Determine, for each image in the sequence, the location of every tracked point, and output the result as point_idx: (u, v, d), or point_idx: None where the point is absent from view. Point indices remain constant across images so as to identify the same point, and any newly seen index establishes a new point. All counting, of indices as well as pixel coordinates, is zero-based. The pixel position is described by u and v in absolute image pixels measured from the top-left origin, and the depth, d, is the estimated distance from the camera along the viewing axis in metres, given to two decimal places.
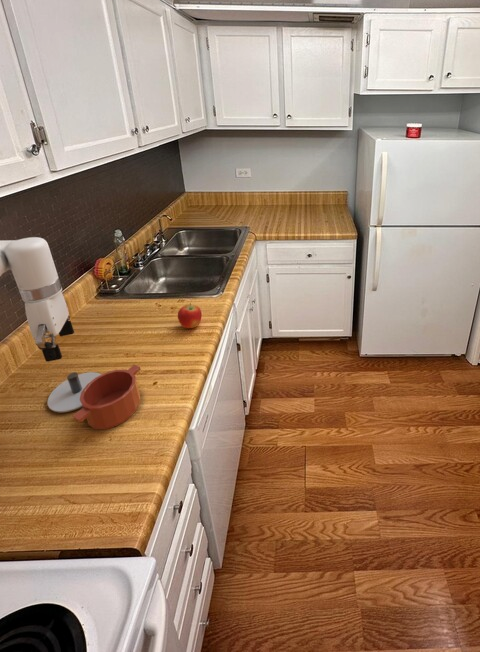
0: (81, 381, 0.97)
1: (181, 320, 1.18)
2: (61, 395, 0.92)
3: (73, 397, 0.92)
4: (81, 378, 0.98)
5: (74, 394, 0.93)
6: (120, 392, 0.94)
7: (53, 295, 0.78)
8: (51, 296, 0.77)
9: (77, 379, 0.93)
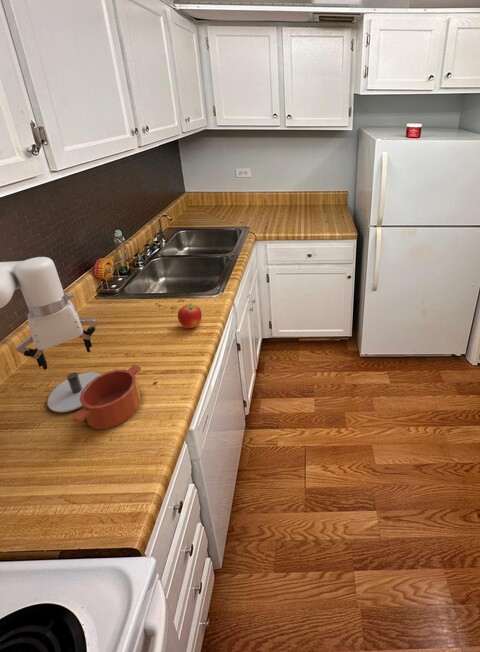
0: (81, 381, 0.97)
1: (181, 320, 1.18)
2: (61, 395, 0.92)
3: (73, 397, 0.92)
4: (81, 378, 0.98)
5: (74, 394, 0.93)
6: (120, 392, 0.94)
7: (38, 317, 0.81)
8: (36, 317, 0.81)
9: (77, 379, 0.93)
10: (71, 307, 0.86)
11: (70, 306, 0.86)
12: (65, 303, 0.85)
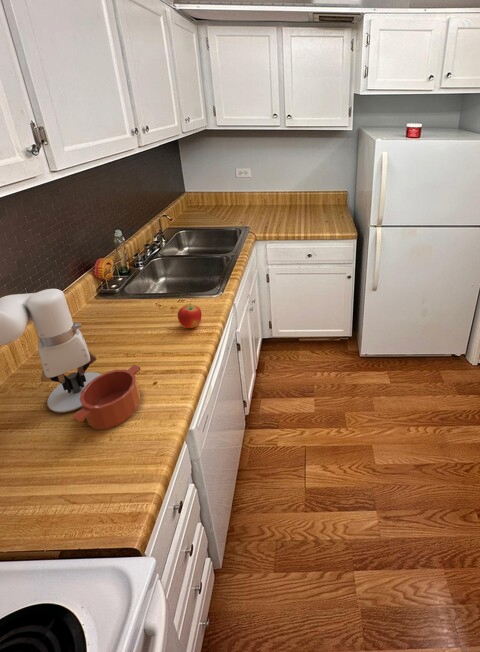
0: None
1: (181, 320, 1.18)
2: (61, 395, 0.92)
3: (73, 397, 0.92)
4: None
5: (74, 394, 0.93)
6: (120, 392, 0.94)
7: (48, 347, 0.84)
8: (46, 347, 0.84)
9: (77, 379, 0.93)
10: (79, 336, 0.89)
11: (79, 335, 0.89)
12: (74, 332, 0.88)
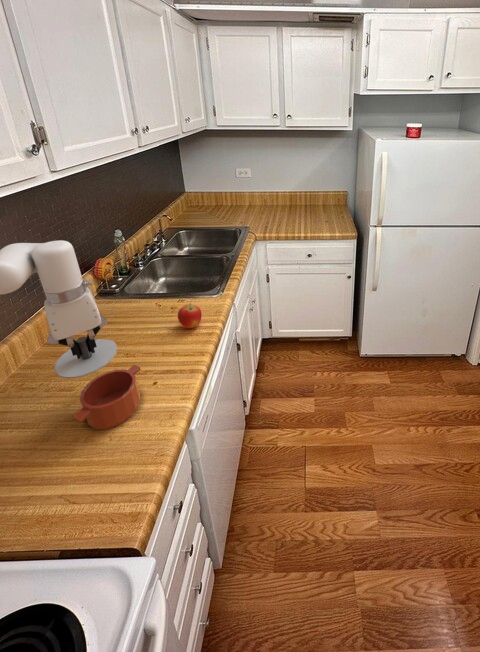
0: None
1: (181, 320, 1.18)
2: (69, 361, 0.84)
3: (83, 363, 0.84)
4: None
5: (84, 360, 0.85)
6: (120, 392, 0.94)
7: (56, 304, 0.76)
8: (54, 304, 0.76)
9: (87, 344, 0.84)
10: (90, 295, 0.81)
11: (89, 293, 0.81)
12: (84, 290, 0.80)
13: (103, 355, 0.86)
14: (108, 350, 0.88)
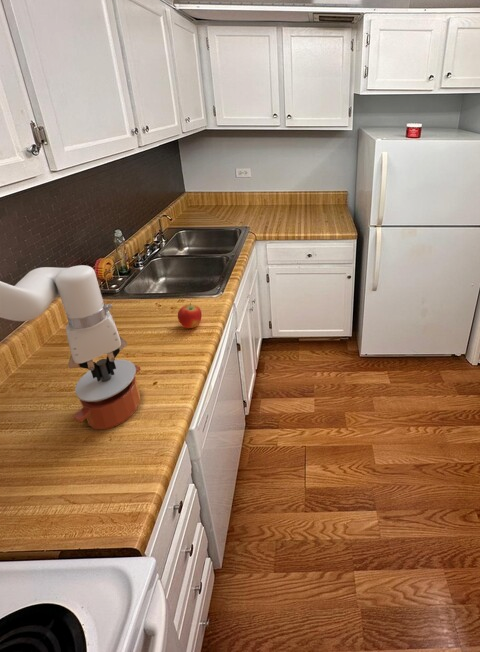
0: None
1: (181, 320, 1.18)
2: (89, 383, 0.85)
3: (103, 386, 0.84)
4: None
5: (103, 382, 0.85)
6: (120, 392, 0.94)
7: (78, 329, 0.76)
8: (76, 329, 0.76)
9: (107, 366, 0.85)
10: (110, 318, 0.81)
11: (109, 317, 0.81)
12: (105, 314, 0.80)
13: (122, 377, 0.87)
14: (127, 371, 0.88)
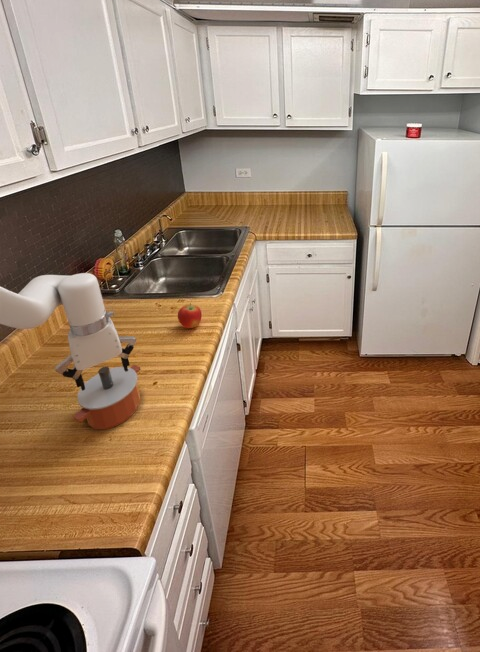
0: (111, 376, 0.90)
1: (181, 320, 1.18)
2: (91, 391, 0.86)
3: (105, 393, 0.85)
4: (111, 373, 0.91)
5: (105, 390, 0.86)
6: None
7: (80, 336, 0.77)
8: (78, 336, 0.77)
9: (109, 374, 0.86)
10: (112, 325, 0.82)
11: (111, 324, 0.82)
12: (106, 321, 0.81)
13: (124, 385, 0.88)
14: (129, 379, 0.89)
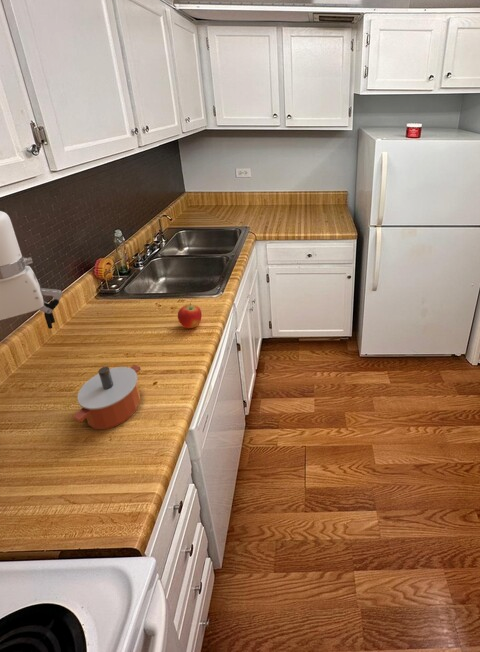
0: (111, 376, 0.90)
1: (181, 320, 1.18)
2: (91, 391, 0.86)
3: (105, 393, 0.85)
4: (111, 373, 0.91)
5: (105, 390, 0.86)
6: None
7: None
8: None
9: (109, 374, 0.86)
10: (30, 273, 0.73)
11: (28, 272, 0.73)
12: (22, 267, 0.72)
13: (124, 385, 0.88)
14: (129, 379, 0.89)
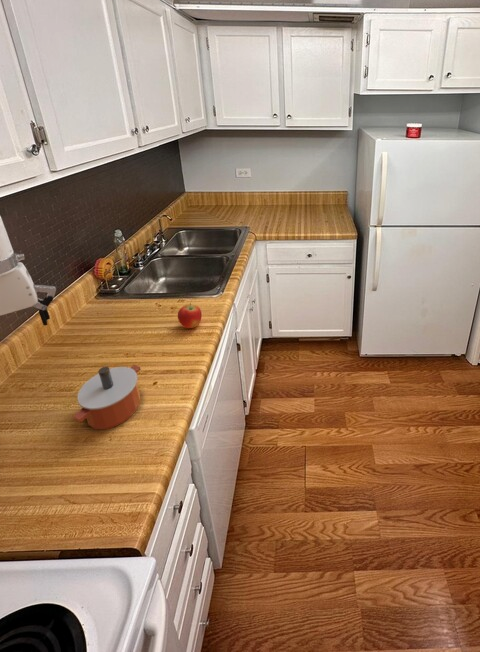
0: (111, 376, 0.90)
1: (181, 320, 1.18)
2: (91, 391, 0.86)
3: (105, 393, 0.85)
4: (111, 373, 0.91)
5: (105, 390, 0.86)
6: None
7: None
8: None
9: (109, 374, 0.86)
10: (22, 269, 0.73)
11: (21, 268, 0.72)
12: (14, 264, 0.71)
13: (124, 385, 0.88)
14: (129, 379, 0.89)
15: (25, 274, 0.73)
